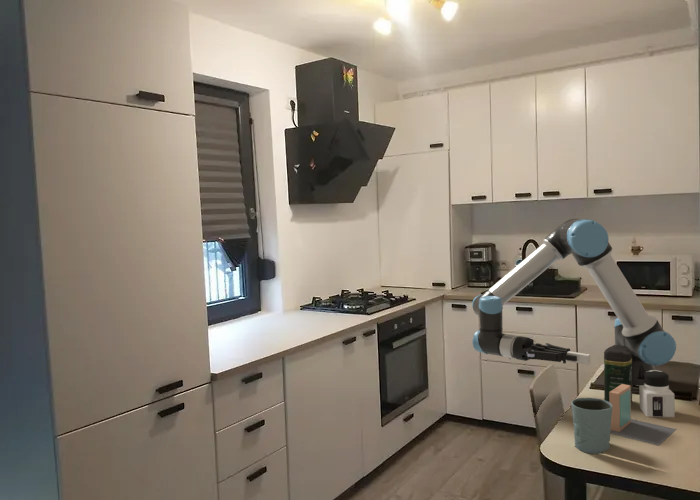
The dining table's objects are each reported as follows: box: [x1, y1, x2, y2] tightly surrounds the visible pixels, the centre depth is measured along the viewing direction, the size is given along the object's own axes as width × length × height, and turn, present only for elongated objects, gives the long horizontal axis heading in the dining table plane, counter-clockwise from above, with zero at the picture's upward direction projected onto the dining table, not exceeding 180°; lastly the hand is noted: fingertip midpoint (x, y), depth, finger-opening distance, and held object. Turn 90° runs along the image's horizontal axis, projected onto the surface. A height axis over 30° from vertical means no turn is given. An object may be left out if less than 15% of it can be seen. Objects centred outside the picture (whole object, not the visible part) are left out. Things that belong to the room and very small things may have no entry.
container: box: [638, 369, 676, 418], centre depth 175 cm, size 8×8×13 cm
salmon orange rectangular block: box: [609, 384, 632, 432], centre depth 166 cm, size 9×3×11 cm, turn 134°
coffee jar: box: [603, 344, 633, 404], centre depth 185 cm, size 10×8×19 cm
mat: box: [610, 418, 677, 446], centre depth 163 cm, size 14×16×1 cm
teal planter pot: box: [570, 397, 613, 455], centre depth 155 cm, size 10×10×12 cm
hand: (589, 359), depth 171 cm, fingers closed
